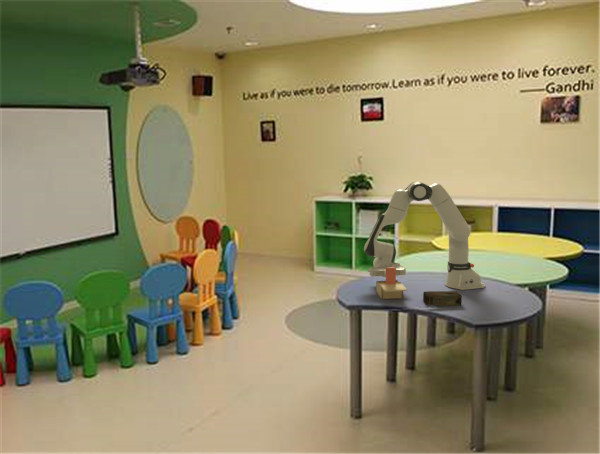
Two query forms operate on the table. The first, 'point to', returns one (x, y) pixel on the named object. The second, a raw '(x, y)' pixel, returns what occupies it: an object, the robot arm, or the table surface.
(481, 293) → the table surface
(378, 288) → the mailer box
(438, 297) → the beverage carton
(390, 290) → the lid
